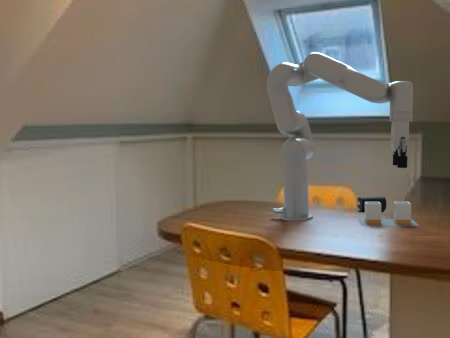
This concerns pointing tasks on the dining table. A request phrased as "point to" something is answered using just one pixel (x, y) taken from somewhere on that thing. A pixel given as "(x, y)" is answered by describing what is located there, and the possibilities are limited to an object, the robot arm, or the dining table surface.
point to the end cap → (371, 199)
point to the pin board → (387, 223)
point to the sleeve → (402, 212)
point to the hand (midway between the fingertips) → (399, 166)
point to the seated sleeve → (373, 212)
